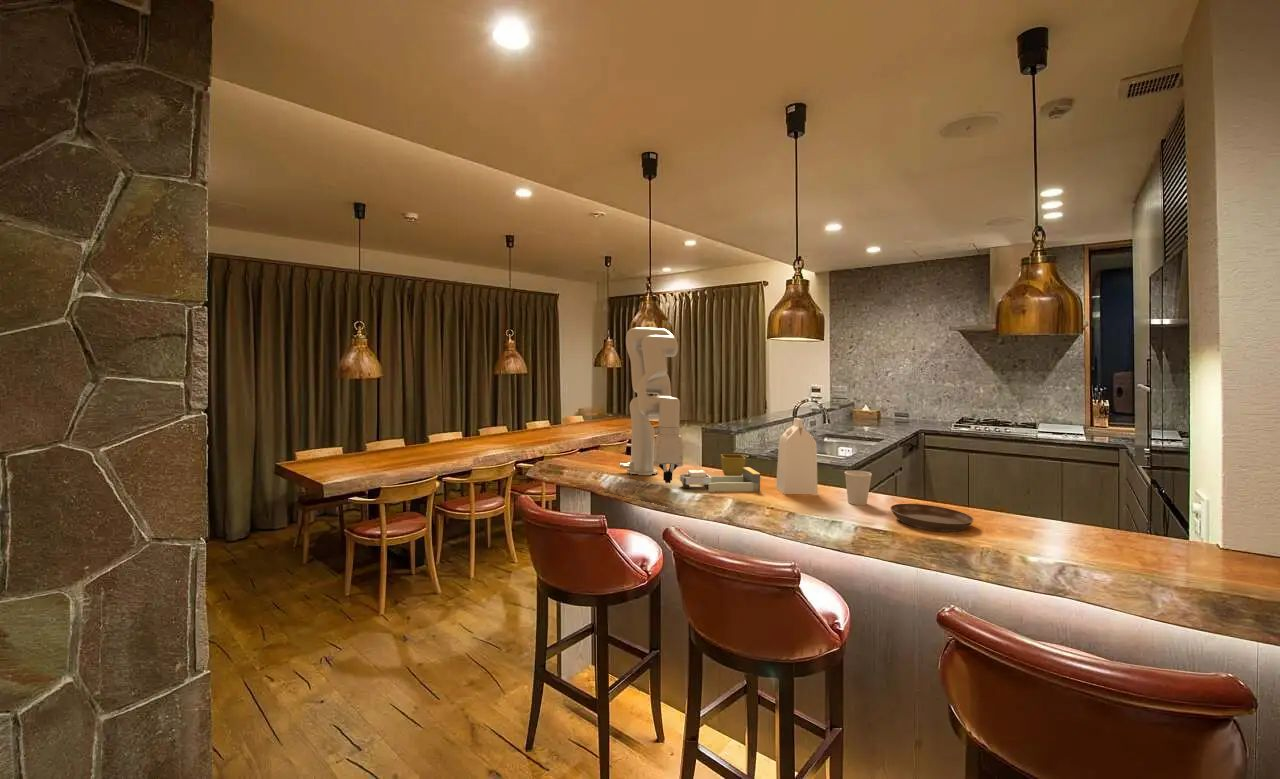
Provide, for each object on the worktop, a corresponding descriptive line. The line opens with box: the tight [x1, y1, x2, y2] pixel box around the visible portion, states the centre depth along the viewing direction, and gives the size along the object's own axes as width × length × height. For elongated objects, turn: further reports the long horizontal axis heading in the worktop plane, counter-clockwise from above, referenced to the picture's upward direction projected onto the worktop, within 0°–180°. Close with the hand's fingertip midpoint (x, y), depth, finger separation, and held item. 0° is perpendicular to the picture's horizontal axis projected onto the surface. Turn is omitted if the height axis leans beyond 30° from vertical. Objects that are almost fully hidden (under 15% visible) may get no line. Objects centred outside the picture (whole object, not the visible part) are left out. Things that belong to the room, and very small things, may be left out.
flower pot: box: [720, 453, 747, 476], centre depth 210 cm, size 9×9×9 cm
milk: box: [775, 417, 819, 496], centre depth 188 cm, size 12×12×26 cm
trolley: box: [679, 469, 712, 490], centre depth 191 cm, size 10×7×6 cm
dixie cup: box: [844, 470, 873, 506], centre depth 172 cm, size 8×8×10 cm
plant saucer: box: [890, 503, 974, 532], centre depth 150 cm, size 21×21×3 cm
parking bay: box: [707, 466, 761, 493], centre depth 192 cm, size 19×15×6 cm
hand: (667, 482), depth 190 cm, fingers closed
